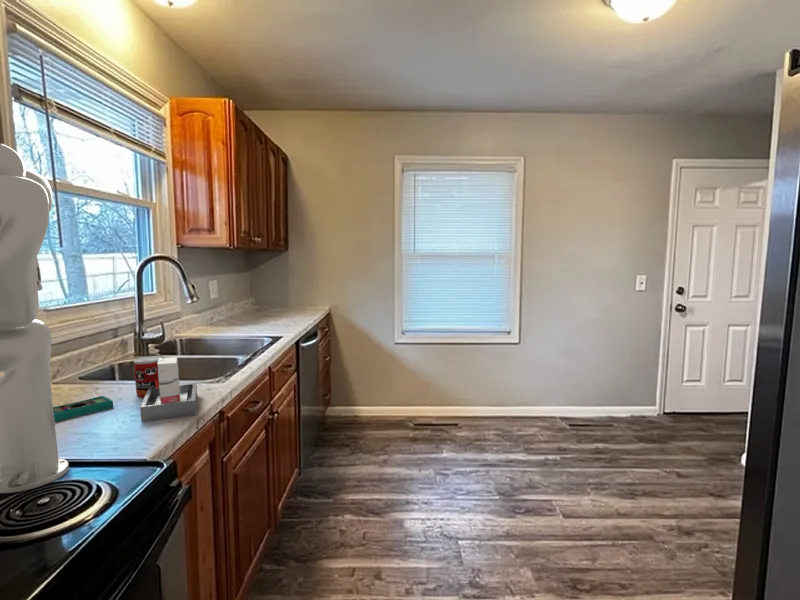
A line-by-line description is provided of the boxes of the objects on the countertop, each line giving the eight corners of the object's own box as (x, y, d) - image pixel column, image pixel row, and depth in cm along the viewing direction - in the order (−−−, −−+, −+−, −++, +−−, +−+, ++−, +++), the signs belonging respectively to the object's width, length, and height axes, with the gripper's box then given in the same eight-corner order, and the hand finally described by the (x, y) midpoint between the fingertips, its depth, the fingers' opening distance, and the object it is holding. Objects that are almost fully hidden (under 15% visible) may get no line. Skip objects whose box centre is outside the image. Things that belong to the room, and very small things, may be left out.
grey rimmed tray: (195, 414, 127) (194, 400, 127) (141, 422, 122) (140, 407, 122) (197, 395, 144) (196, 383, 143) (149, 401, 139) (148, 388, 138)
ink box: (180, 404, 130) (177, 362, 128) (160, 407, 128) (156, 364, 126) (180, 395, 138) (177, 355, 136) (161, 398, 136) (158, 357, 134)
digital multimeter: (44, 418, 128) (43, 408, 128) (105, 403, 139) (104, 394, 139) (52, 424, 123) (51, 414, 123) (114, 409, 134) (114, 399, 134)
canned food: (130, 396, 144) (127, 361, 143) (150, 389, 152) (147, 355, 151) (151, 398, 142) (149, 362, 141) (170, 390, 150) (168, 356, 149)
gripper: (-40, 239, 105) (-30, 321, 107) (42, 238, 110) (50, 316, 112) (-24, 239, 111) (-15, 316, 113) (52, 239, 117) (59, 312, 119)
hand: (17, 316), depth 113 cm, fingers closed
